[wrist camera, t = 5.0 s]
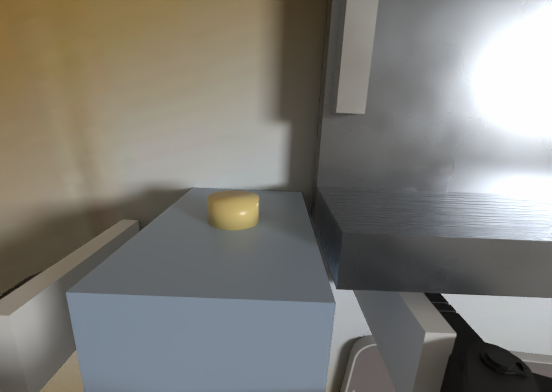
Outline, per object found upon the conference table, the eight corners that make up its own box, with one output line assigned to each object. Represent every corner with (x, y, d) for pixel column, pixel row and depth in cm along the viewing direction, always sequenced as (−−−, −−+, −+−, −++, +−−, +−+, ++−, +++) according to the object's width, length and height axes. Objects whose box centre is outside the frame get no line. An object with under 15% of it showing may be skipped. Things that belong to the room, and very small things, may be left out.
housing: (197, 299, 14) (106, 506, 7) (192, 170, 13) (57, 253, 5) (293, 303, 15) (311, 513, 7) (302, 174, 13) (340, 264, 5)
